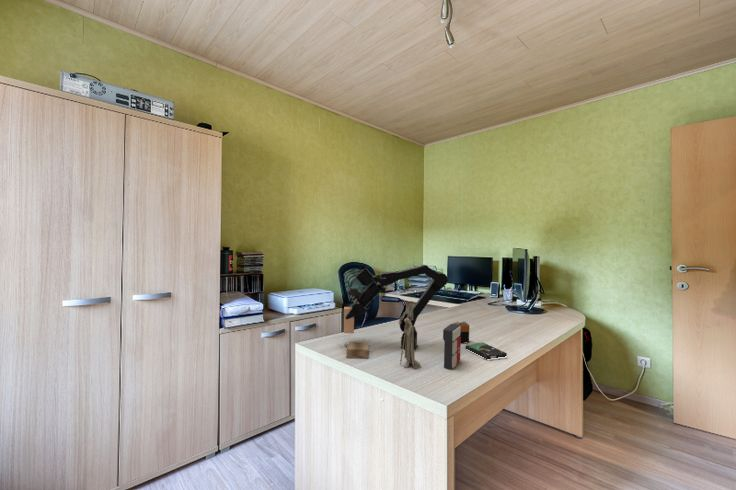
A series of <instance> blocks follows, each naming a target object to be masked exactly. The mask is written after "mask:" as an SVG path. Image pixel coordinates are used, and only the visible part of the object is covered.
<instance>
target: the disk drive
mask: <svg viewBox="0 0 736 490" xmlns="http://www.w3.org/2000/svg"><path fill="white" fill-rule="evenodd" d="M466 349H468V350H470V351H472V352H474V353H476V354H478V355H480V356H482V357H484V358H486V359H491V358H498V357H505V356H508V355H507V352H505V351H502V350H501V349H499V348H496V347H495V346H492V345H489V344H488V343H485V342H476V343H475V342H474V343H471V344H469V343H465V350H466ZM468 350H467V351H468ZM470 351H469V352H470ZM472 352H471V353H472ZM474 353H473V354H474ZM476 354H475V355H476ZM478 355H477V356H478Z"/></svg>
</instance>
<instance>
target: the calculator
mask: <svg viewBox="0 0 736 490" xmlns="http://www.w3.org/2000/svg"><path fill="white" fill-rule="evenodd" d="M460 328H461V327H460V325H458V324H453V323H450V324H449V325H447V326H446V327H445V328H443V329H442V340H444V350H443V351H444V352H443V355H444V356H443V368H444V369H448V370H453V369H454V368H455V367H456V366H457V365H458V363H460V361H461V346H462V345H461V344H462V343H461V336H460Z"/></svg>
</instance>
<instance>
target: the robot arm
mask: <svg viewBox="0 0 736 490" xmlns="http://www.w3.org/2000/svg"><path fill="white" fill-rule="evenodd" d="M420 275H426V276H427V277H429V278H430V281H429V284H428V287H427V288H426V289H425V290H424V292H423V293H422V294H421V295H420V298H418V300H417V301H416V302H415V303H414V304H413V320H412V321H411V323H412V326H413V330H414V351H416V349H417V348H418V347H419V345H418V331H417V328H416V327H415V324H416V321H417V319H418V317H419V316H420V315H421V313H422V311H424V309H425V307H426V306H427V305H428V304H429V302H430V301H431V300H432V298H433V297H434V295H436V293H437V292H439V291H440V290H442V289H443V288H444V287H445V286H446V285H447V284H448V282H449V277H448V275H446V274H445V273H443V272H441V271H436V270H434V269H433V268H431V267H429V265H427V264H421V265H420V266H419V265H418V266H415V267H411V268H406V269H401V270H398V271H384V272H381V273H380V274H376V275H375V274H374V275H373V274H372V273H371V272H370V271H369V269H368V268H367V267H365V268H364V269H363V270H361V271H360V272H359V273H358V274H357V275H356V276H355V278H354V279H356V280H357V281H358V283H360V285H361V286H362V287H365V286H366V288H365V289H363V290H359V289H358V288H356V287H352V286H350V287H349V289H348V291H347V295H348V296H352V299H351V305H350V307H352V309H351V310H350V312H349V313H348V314H347V316H346V317H345V318H346V319H350V318H352V317H354V318H355V317H357V316H360V315H362V316H364V315H365V314H366V313H367V306H368V305H369V304H370V303H372V302H374V299H375V298H376V297H377V296H378V295H379V294H381V292H382V293H383V294H386V289H387V288H386V286H389V285H392V284H394V283H396V282H398V281H399V280H404V279H408V278H412V277H415V276H416V277H417V276H420ZM383 286H384V287H383ZM409 313H410V312H409ZM407 316H408V312H406V311H404V312H403V313H402V315H401V316H400V317H399V321H398V323H399V329H400V330H401V332H403V333H402V335H401V337H400V349H402V348H403V342H404V335H405V332H404V329H405V325H406V324H405V321H404V320H405V319H406V318H407ZM408 318H409V319H410V320H411V318H410V317H408ZM405 343H406V336H405V342H404V348H403V350H405Z"/></svg>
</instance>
